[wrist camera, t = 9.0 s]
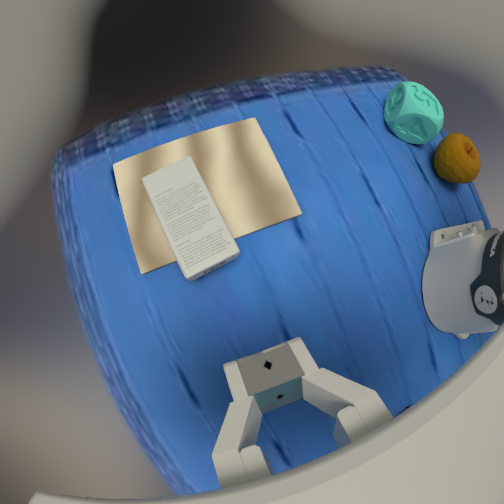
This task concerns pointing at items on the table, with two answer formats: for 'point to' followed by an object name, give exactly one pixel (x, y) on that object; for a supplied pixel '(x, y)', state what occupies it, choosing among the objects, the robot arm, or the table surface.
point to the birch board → (208, 186)
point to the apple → (457, 159)
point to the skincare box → (190, 218)
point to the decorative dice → (413, 113)
